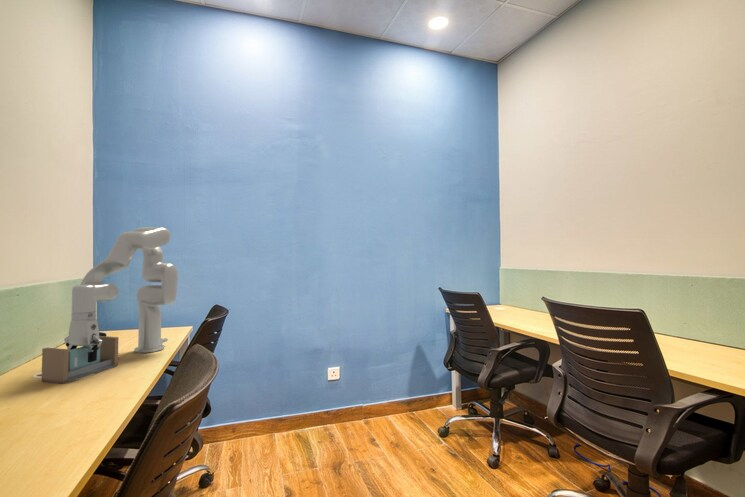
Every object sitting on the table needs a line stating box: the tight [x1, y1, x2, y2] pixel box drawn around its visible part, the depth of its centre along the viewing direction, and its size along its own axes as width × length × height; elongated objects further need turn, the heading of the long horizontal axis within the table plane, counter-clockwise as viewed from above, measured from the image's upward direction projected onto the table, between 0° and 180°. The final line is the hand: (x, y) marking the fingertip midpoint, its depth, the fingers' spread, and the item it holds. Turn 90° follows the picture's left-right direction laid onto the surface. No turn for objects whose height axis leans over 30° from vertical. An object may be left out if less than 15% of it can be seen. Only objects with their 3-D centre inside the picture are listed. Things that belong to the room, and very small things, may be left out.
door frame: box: [41, 336, 119, 385], centre depth 143 cm, size 22×10×12 cm, turn 168°
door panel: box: [68, 346, 100, 372], centre depth 143 cm, size 12×3×9 cm, turn 168°
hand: (82, 360), depth 143 cm, fingers open, 8 cm apart
